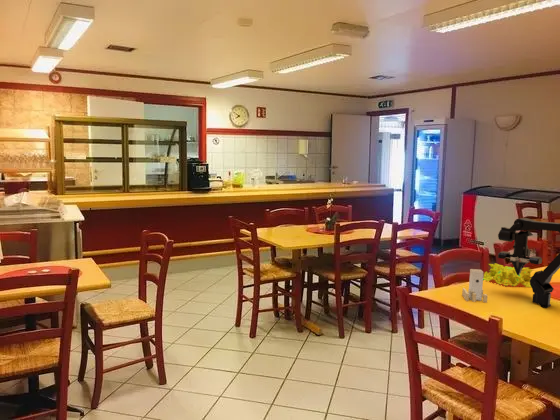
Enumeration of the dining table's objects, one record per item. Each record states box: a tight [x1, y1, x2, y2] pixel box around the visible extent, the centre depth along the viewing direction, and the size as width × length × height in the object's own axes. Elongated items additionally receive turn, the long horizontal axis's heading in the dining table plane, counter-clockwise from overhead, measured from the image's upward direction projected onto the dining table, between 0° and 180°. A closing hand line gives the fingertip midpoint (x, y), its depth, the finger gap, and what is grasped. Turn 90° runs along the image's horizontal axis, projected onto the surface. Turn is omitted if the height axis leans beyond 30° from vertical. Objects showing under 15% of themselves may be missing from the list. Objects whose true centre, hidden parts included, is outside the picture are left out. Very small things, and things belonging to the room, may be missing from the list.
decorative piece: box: [483, 263, 534, 289], centre depth 262 cm, size 26×8×30 cm
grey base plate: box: [461, 287, 488, 304], centre depth 225 cm, size 17×12×4 cm
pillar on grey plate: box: [468, 268, 484, 302], centre depth 225 cm, size 5×5×14 cm
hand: (518, 274), depth 229 cm, fingers closed
